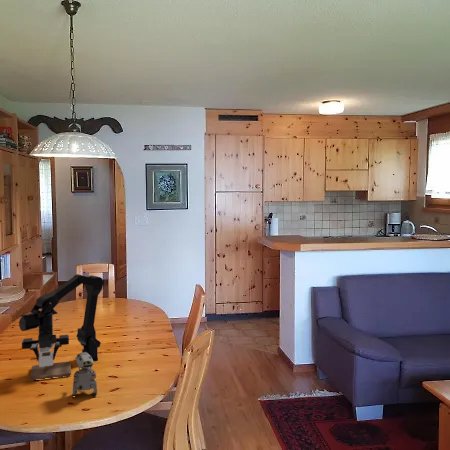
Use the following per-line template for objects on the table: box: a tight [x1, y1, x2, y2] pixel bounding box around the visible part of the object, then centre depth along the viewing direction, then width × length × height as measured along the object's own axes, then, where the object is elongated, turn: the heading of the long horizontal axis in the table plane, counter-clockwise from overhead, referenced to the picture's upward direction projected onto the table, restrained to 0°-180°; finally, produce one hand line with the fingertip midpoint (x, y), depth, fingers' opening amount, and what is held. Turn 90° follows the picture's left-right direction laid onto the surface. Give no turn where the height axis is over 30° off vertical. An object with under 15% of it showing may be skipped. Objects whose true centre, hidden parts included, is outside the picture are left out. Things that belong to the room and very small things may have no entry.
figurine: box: [71, 352, 98, 397], centre depth 170 cm, size 9×12×15 cm
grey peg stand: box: [29, 355, 72, 381], centre depth 189 cm, size 16×14×8 cm
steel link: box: [38, 350, 54, 367], centre depth 189 cm, size 6×7×4 cm
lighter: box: [39, 343, 55, 353], centre depth 208 cm, size 7×2×8 cm, turn 99°
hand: (46, 360), depth 189 cm, fingers closed on steel link, 5 cm apart
